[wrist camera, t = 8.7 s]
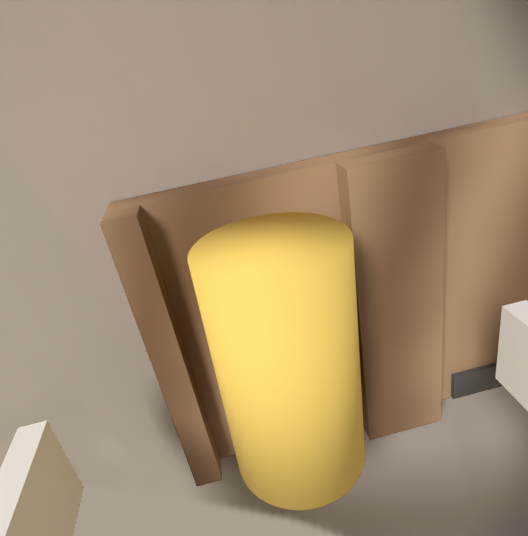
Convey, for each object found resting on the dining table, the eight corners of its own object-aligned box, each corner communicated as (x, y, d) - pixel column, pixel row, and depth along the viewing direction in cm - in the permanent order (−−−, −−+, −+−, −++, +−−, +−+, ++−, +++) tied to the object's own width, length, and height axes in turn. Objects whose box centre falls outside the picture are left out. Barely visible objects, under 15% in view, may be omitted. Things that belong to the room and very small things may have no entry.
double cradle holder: (607, 94, 15) (665, 99, 13) (562, 349, 20) (599, 378, 18) (110, 202, 14) (100, 224, 12) (195, 445, 19) (197, 486, 17)
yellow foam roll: (364, 405, 17) (366, 516, 13) (252, 402, 18) (223, 504, 14) (353, 207, 13) (352, 281, 9) (213, 217, 14) (161, 287, 10)
